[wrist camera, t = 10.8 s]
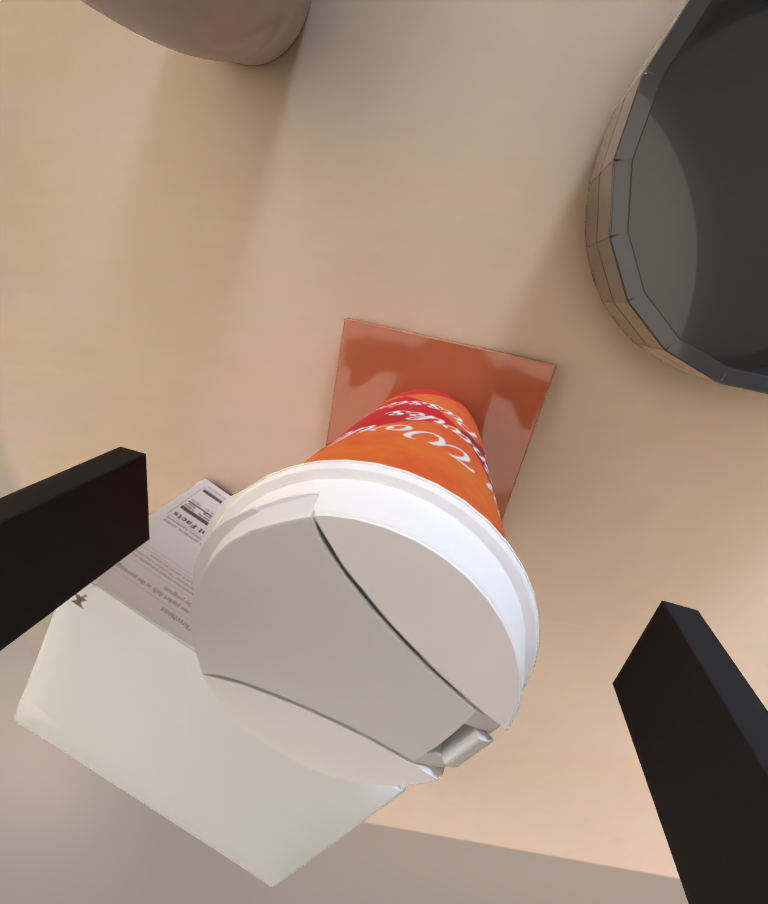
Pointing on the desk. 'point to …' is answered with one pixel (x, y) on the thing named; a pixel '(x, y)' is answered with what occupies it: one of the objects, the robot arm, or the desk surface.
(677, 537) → the desk surface
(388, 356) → the coaster
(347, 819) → the supplement box
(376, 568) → the paper cup
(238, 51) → the mug
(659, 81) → the pan
